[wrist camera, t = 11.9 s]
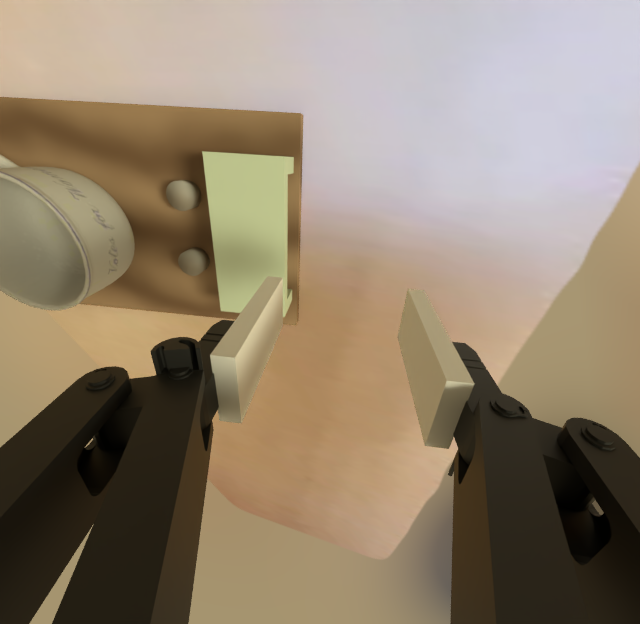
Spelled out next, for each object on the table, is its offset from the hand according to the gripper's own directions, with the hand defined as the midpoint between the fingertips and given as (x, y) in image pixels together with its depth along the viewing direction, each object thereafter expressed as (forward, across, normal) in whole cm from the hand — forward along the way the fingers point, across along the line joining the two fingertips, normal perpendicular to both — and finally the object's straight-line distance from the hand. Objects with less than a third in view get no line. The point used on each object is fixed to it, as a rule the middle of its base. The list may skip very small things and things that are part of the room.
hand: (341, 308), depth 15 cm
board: (+15, -18, 0) cm, 24 cm away
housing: (+14, -8, 0) cm, 16 cm away
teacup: (+14, -25, +1) cm, 29 cm away
